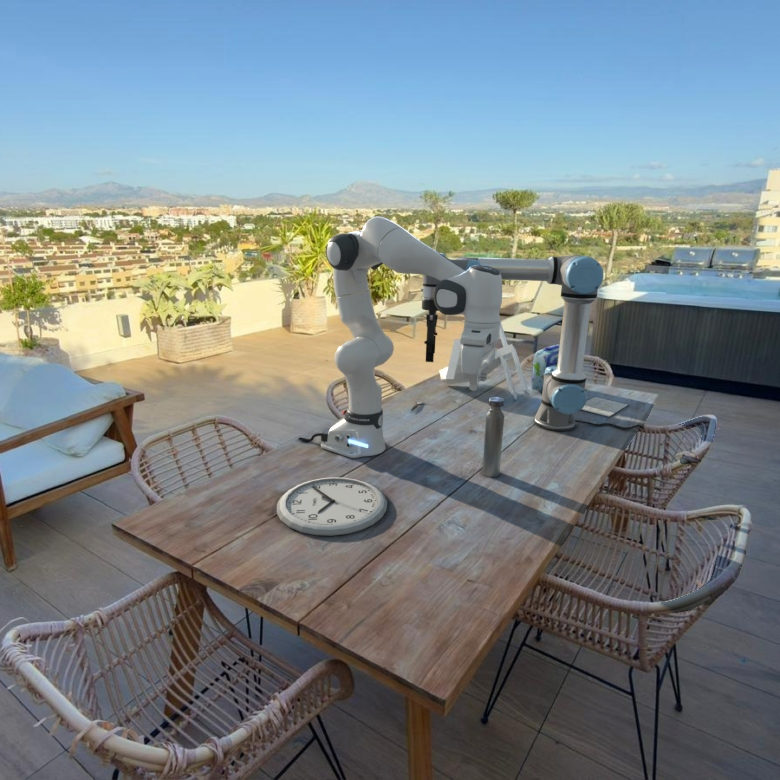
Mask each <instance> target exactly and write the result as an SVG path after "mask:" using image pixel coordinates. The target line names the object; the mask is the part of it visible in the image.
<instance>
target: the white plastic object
mask: <svg viewBox="0 0 780 780" xmlns="http://www.w3.org/2000/svg"><path fill="white" fill-rule="evenodd" d="M499 339H500V342H501V345H502V347H500V348H498V349H495V358H494V360H493V361H492V362H491V363H490V364H489V369H488V373H487V375H489V374H490V373H492V372H494V371H495V370H496V369H497V368H499V367H500V366H502V370H503V373H504V376H505V380H506V383H507V386H508V390H509V393H510V394H511V395H512V397H513V398H514V399H515V400H517V392H516V391H517V390H516V388H515V385H514V381H513V378H512V375H511V371H510V369H509V365H508V361H510V360H513V363H514V366H515V369H516V372H517V376H518V380H519V382H520V385H521V389H522V391H523V393H524V395H525V396H526V397H528V396H531V395H530V390H529V388H528V387H529V386H528V384H527V381H526V378H525V375H524V371H523V369H522V368H523V367H522V366H521V362H520V359H519V355H518V352H517V349H516V347H515V346H514V345H513V343H511V344H508V341H507V337H506V334H505V331H504V328H503V325H502V321H501V320H500V332H499ZM462 346H463V344H460V338H459V339H458V338H454V340H453V344H452V349H451V353H450V357H449V362H448V366H446V367H444V368H442V369H440V370H439V371H438V372H439V376H440V381H442V383H443V384H444V385H445V386H449V385H458V384H467V383H468V384H469V379H468V376H464V375H463V373H462V361H461V354H462ZM480 382H481V381H480V380H479V375H478V378H477V383H480Z"/></svg>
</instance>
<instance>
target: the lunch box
mask: <svg viewBox="0 0 780 780" xmlns="http://www.w3.org/2000/svg"><path fill="white" fill-rule="evenodd" d="M559 346H560V344H554V345H550V346H547V347H544V348H542V349H541V348H540V349H539V350H537V351H536V352H535V353H534V356H533V360H532V367H531V368H532V369H531V382H530V383H531V386H530V387H531V389H532V390H533V391H537V392H541V393H542V392H543V382H544V373H545V369H546V368H547V367H553V366H557V364H558V355H559Z"/></svg>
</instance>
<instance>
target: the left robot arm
mask: <svg viewBox="0 0 780 780" xmlns="http://www.w3.org/2000/svg"><path fill="white" fill-rule="evenodd" d="M440 253H441V252H438V251H437V250H435V249H433V248H432V247H430V246H429V245H427V244H425V243H424V242H423V241H421V240H419V239H418V238H417V237H415V236H414V235H412V233H410V232H408V230H406V229H405V228H403V227H402V226H400V225H399V224H397V223H396V222H394V221H392V220H390V219H388V218H385V217H384V216H374V217H372V218H370V219H368V220H367V221H366V222H365V223H364V225H363V227H362V230H361V229H360V230H356V231H351V232H344V233H338V234H336V235H334V236H332V237H330V238H329V239H328V241H327V243H326V246H325V257H326V260H327V262H328V263H329V265H330V267H332V279H333V289H334V295H335V299H336V304H337V309H338V314H339V317H340V318H339V319H340V321H341V323H342V324H343V325H344V326H346V327H347V328H348V330H349V331H350V333H351V335H352V337H353V339H350V340H347V341H345V343H342V344H341V345H340V346H339V347H338V348H337V349H336V351H335V353H334V364H335V366H336V368H337V370H339V372H341V373H342V375H343V376H344V378H345V381H346V385H347V390H348V407H346V408H344V410H343V411H341V416H344V417H343V418H341V419H340V420H339V421H337V422H336V423H334V424H333V425H331V427H330V428H329V427H326V428H325V429H324V430H323V431H321V432H318V433H317V432H316V433H314V434H313V435H312V436H311V437H310V438H305V437H301V436H299V437H300V438H299V437H298V440H299V441H302V442H307V443H308V442H309V443H310V442H312V441H314V439H315V438H316V437H320V442H321V443H320V448H321V449H323V450H326V451H329V452H332V453H335V454H338V455H341V456H344V457H347V458H350V459H359V458H362V457H363V458H364V457H372V456H377V455H380V454H382V453H384V452H385V451H386V449H387V447H386V443H385V439H384V432H383V423H384V410H383V409H384V408H382V402H383V401H382V399H383V398H382V397H383V389H382V385H381V384H380V383H379V382H377V379H376V375H375V368H377V367H379V366H382V365H383V364H385V363H386V362H387V361H388V360H390V359H391V357H392V356H393V355H394V349H395V348H394V347H395V346H394V343H393V341H392V339H391V338H390V337H389V336H388V335H387V334H386V333H385V332H384V330H383V328H382V327H381V324H380V323H379V320H378V317H377V316H376V313H375V308H374V304H373V299H372V296H371V290H370V286H369V282H368V272H369V270H374V271H375V270H377V269H378V268H379V267H381V266H383V265H384V266H385V267H386V268H388V269H390V270H392V271H393V272H395V273H399V274H406V275H420V276H423V275H427V276H431V277H434V278H436V279H438V280H440V282H439V283H438V284H437V286H436V288H435V291H434V302H435V305H436V307H437V309H438V310H439V311H438V312H439V313H441V314H442V315H445V316H453V317H454V316H458V315H459V316H461V315H462V316H464V321H463V322H464V324H463V330H462V332H461V334H460V337H459V339H460V344H463V346H462V354H461V361H462V373H463V375H464V376H468V379H469V382H468V384H469V390H470V391H477V390H478V389H479V382H477V378H478V375H479V380H480V382H485V381H487V380H488V374H487V373H488V369H489V364H490V363H491V362H492V361H493V360H494V358H495V350H496V346H497V345H496V344H497V342H498V341H499V340H500V335H499V332H500V321H501V316H500V309H501V307H502V303H503V280H502V278H501V274H500V272H499V271H498V270H497V269H495V268H493V267H489V266H483V265H474V266H471V267H470V268H469V269H468V270H466V269H464V268H462V267H461V266H459V265H458V264H456V263H455V262H453V261H451V260H452V259H451V258H449V257H447V256H446V255H445V256H446V257H445V256H443V255H442V254H440Z"/></svg>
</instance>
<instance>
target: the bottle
mask: <svg viewBox="0 0 780 780" xmlns="http://www.w3.org/2000/svg"><path fill="white" fill-rule="evenodd" d="M504 424H505V413H504V411H503V408H502V407H492V406H490V408H489V409H488V411H487V412H486V415H485V429H484V443H483V455H482V470H481V474H482V475H483V476H485V477H489V478H496V477H499V476H500V471H501V458H502V449H503V437H504Z"/></svg>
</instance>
